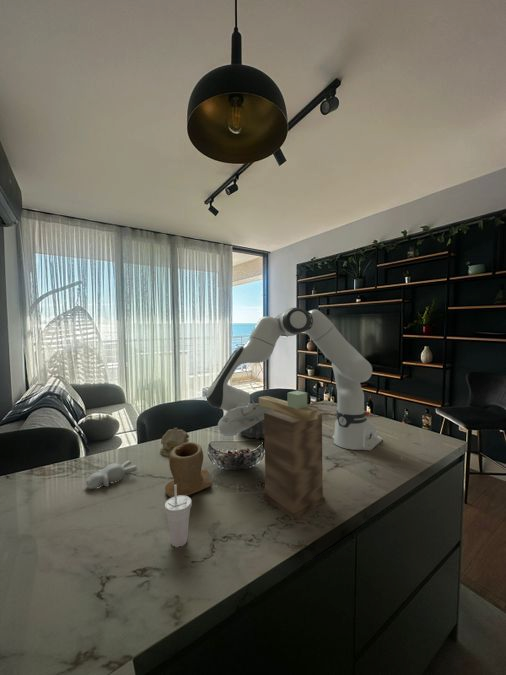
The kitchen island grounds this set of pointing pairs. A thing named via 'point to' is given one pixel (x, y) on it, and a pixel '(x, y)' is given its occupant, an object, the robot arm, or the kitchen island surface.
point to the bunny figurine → (109, 474)
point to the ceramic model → (173, 440)
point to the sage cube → (297, 399)
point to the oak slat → (288, 408)
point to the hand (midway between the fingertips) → (265, 403)
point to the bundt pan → (255, 431)
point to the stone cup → (187, 470)
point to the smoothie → (178, 518)
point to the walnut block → (293, 462)
